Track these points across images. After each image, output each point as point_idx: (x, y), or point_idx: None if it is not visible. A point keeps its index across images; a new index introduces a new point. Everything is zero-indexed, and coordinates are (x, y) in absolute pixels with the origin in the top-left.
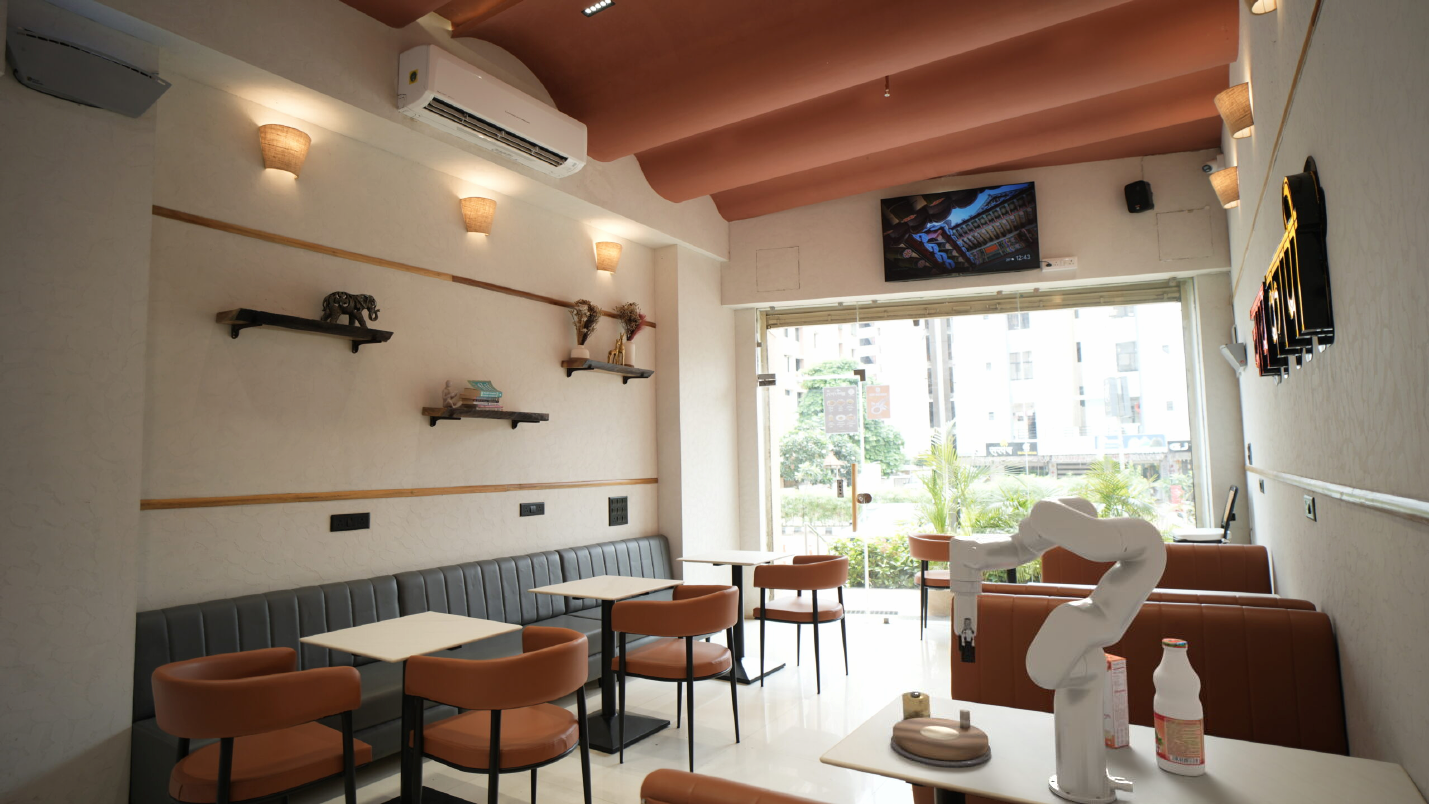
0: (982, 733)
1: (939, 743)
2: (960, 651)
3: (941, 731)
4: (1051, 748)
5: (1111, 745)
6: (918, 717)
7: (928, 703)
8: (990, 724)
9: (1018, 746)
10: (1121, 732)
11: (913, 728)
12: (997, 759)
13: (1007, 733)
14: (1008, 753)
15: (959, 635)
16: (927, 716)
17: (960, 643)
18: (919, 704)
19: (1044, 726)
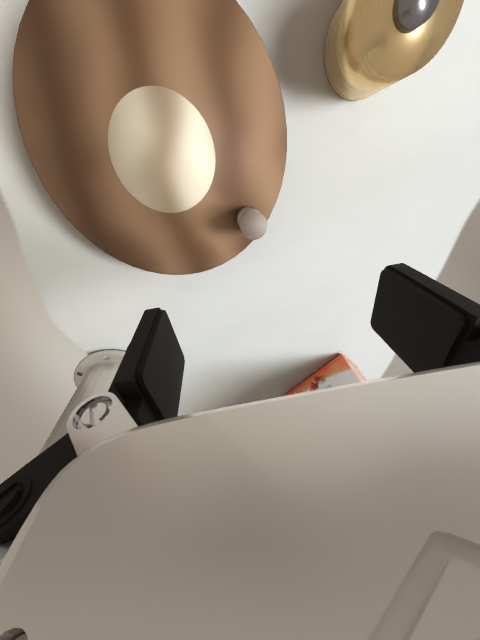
0: (215, 260)
1: (87, 167)
2: (383, 271)
3: (177, 161)
4: (258, 342)
5: (286, 395)
6: (332, 53)
7: (372, 81)
8: (349, 251)
9: (248, 303)
10: None
11: (159, 52)
12: (170, 279)
13: (306, 283)
14: (209, 293)
15: (472, 323)
16: (345, 88)
17: (412, 296)
18: (352, 41)
19: (352, 329)
